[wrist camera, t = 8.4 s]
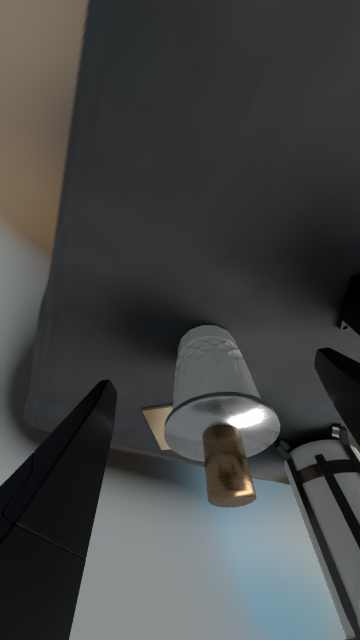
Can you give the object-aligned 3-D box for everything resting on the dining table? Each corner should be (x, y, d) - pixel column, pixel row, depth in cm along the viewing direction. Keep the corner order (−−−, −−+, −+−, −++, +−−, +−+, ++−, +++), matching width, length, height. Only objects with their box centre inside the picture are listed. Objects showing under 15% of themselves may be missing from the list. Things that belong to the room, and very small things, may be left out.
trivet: (222, 398, 31) (222, 400, 31) (228, 440, 37) (229, 443, 37) (142, 408, 32) (142, 410, 32) (161, 447, 39) (161, 450, 38)
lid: (277, 382, 14) (313, 456, 10) (277, 448, 19) (301, 515, 15) (149, 402, 15) (140, 476, 12) (179, 460, 20) (179, 525, 16)
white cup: (206, 378, 29) (218, 460, 20) (160, 349, 26) (151, 431, 18) (253, 344, 25) (289, 424, 17) (205, 306, 23) (221, 381, 14)
